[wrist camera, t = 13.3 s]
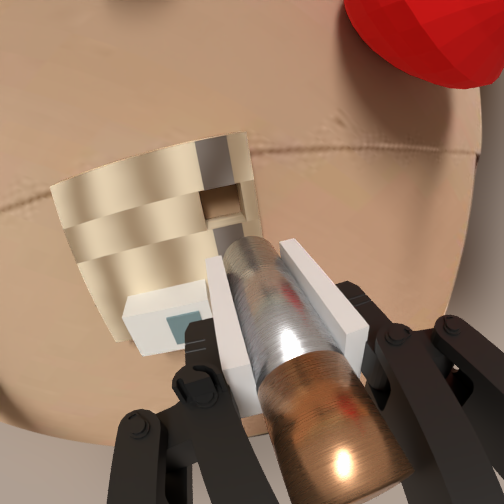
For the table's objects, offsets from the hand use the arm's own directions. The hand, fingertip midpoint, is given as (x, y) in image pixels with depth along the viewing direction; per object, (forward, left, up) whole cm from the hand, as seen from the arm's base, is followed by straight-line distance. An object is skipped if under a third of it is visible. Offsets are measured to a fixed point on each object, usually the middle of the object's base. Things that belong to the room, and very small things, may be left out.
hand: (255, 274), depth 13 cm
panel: (-6, -3, -15) cm, 16 cm away
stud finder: (-7, -9, -12) cm, 17 cm away
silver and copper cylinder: (0, 0, -1) cm, 1 cm away
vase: (+22, +19, -15) cm, 33 cm away
